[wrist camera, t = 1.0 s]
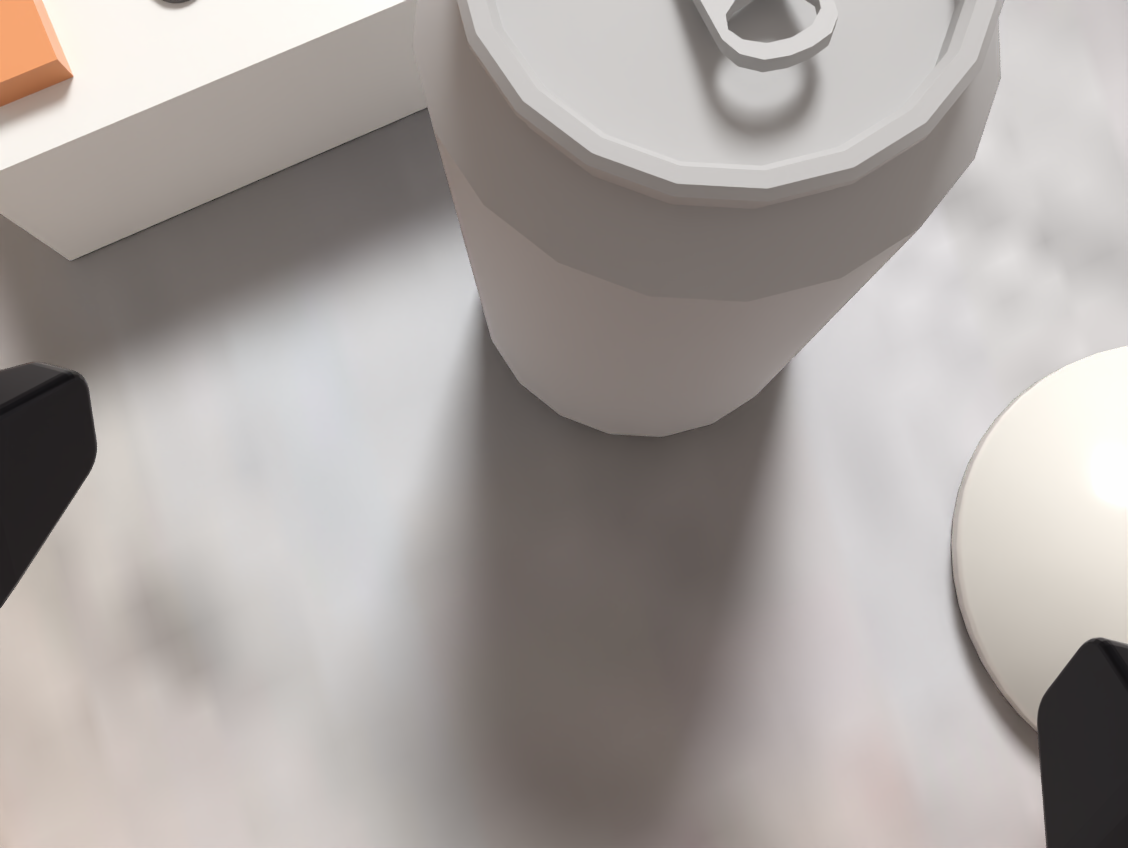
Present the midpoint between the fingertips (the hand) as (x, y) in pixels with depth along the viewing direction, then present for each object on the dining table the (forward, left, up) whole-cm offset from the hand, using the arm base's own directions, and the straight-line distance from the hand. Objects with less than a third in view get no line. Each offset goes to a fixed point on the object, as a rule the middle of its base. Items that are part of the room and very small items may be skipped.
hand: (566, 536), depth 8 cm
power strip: (+14, +1, -12) cm, 19 cm away
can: (+5, -4, -13) cm, 15 cm away
